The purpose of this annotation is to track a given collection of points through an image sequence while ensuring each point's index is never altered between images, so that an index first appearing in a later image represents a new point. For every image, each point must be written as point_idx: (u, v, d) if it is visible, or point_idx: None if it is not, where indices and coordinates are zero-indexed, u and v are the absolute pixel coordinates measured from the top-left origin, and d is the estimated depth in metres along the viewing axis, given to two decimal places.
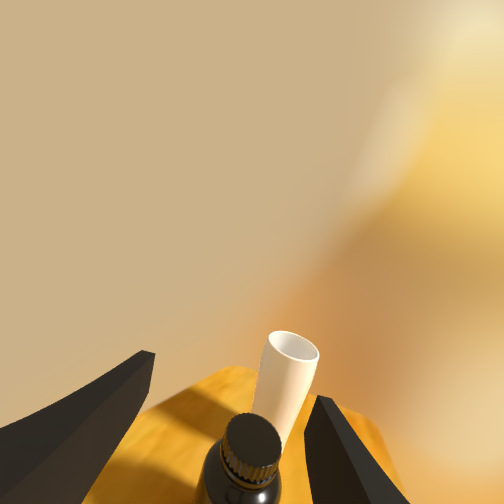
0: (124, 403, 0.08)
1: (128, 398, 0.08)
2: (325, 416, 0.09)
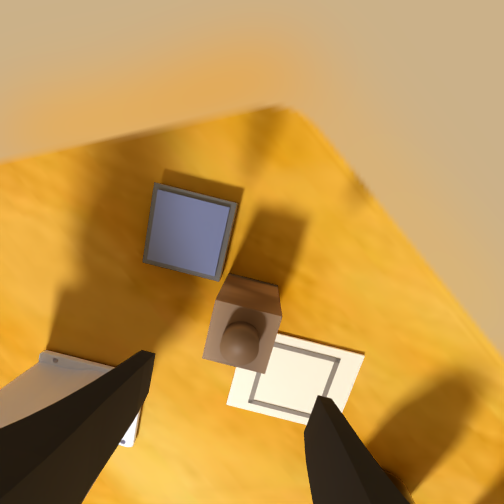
0: (124, 403, 0.08)
1: (128, 398, 0.08)
2: (325, 416, 0.09)
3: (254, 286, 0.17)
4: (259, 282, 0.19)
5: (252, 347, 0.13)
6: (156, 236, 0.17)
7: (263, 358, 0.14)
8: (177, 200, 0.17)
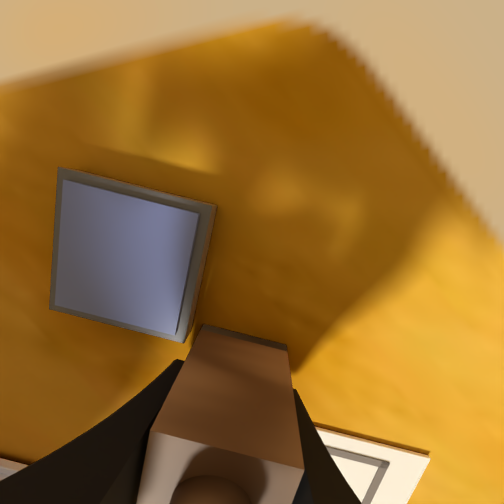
0: None
1: None
2: None
3: (245, 358, 0.10)
4: (256, 343, 0.11)
5: None
6: (67, 265, 0.10)
7: None
8: (101, 200, 0.09)
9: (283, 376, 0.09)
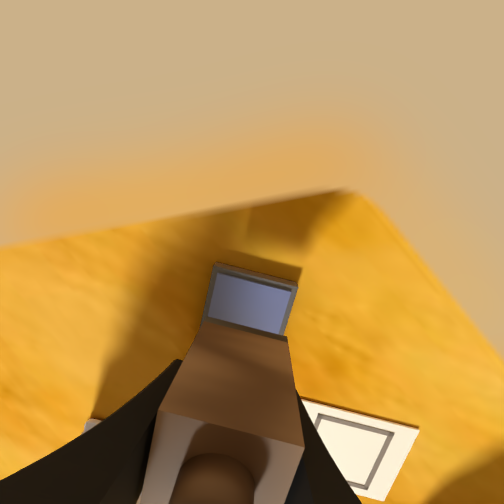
0: None
1: None
2: None
3: (247, 347, 0.10)
4: (257, 334, 0.11)
5: None
6: None
7: None
8: (237, 284, 0.16)
9: (284, 364, 0.09)
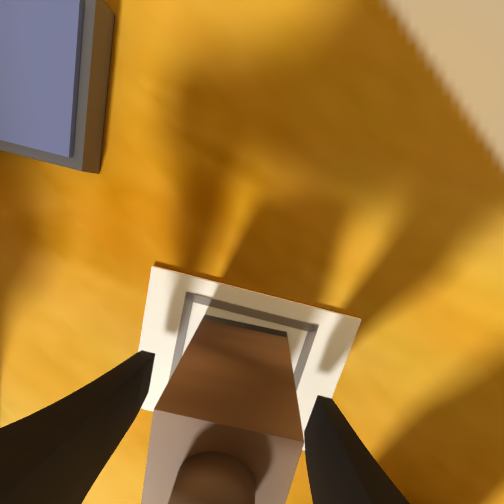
0: (124, 403, 0.08)
1: (128, 398, 0.08)
2: (325, 416, 0.09)
3: (246, 344, 0.10)
4: (256, 331, 0.11)
5: None
6: None
7: None
8: None
9: (283, 360, 0.09)
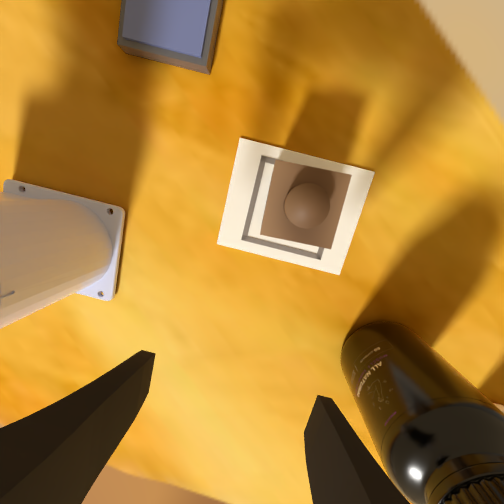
0: (124, 403, 0.08)
1: (128, 398, 0.08)
2: (325, 416, 0.09)
3: None
4: None
5: (322, 204, 0.12)
6: (132, 3, 0.15)
7: (329, 229, 0.13)
8: None
9: None
